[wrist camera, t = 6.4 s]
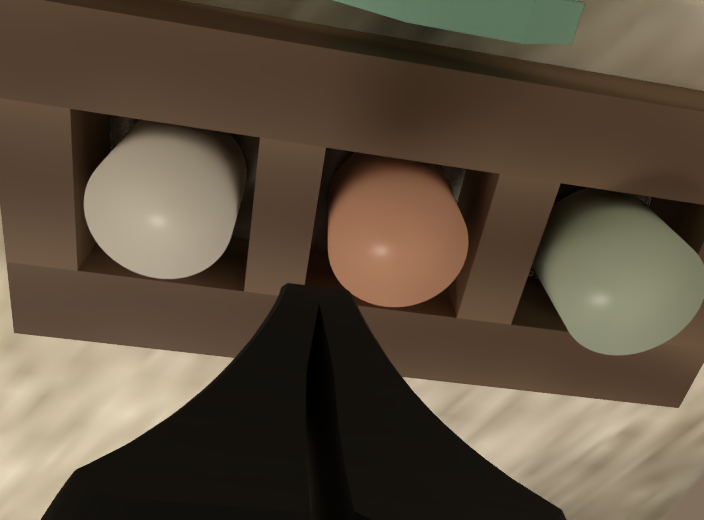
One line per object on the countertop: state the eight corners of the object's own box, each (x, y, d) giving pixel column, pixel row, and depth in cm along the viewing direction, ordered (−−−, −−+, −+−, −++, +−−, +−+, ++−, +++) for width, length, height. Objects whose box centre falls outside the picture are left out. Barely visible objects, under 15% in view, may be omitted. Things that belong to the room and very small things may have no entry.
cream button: (241, 235, 19) (227, 287, 17) (119, 218, 19) (85, 269, 16) (252, 120, 17) (239, 157, 15) (118, 99, 17) (81, 134, 14)
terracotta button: (433, 260, 20) (449, 314, 17) (319, 245, 19) (318, 298, 17) (462, 152, 18) (484, 194, 16) (338, 133, 18) (339, 172, 15)
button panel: (638, 349, 22) (678, 408, 20) (54, 277, 20) (14, 333, 18) (757, 100, 18) (829, 133, 16) (34, -25, 16) (-23, -11, 13)
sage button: (625, 301, 20) (671, 362, 17) (514, 287, 19) (544, 347, 17) (673, 196, 18) (732, 245, 15) (552, 177, 18) (591, 225, 15)
